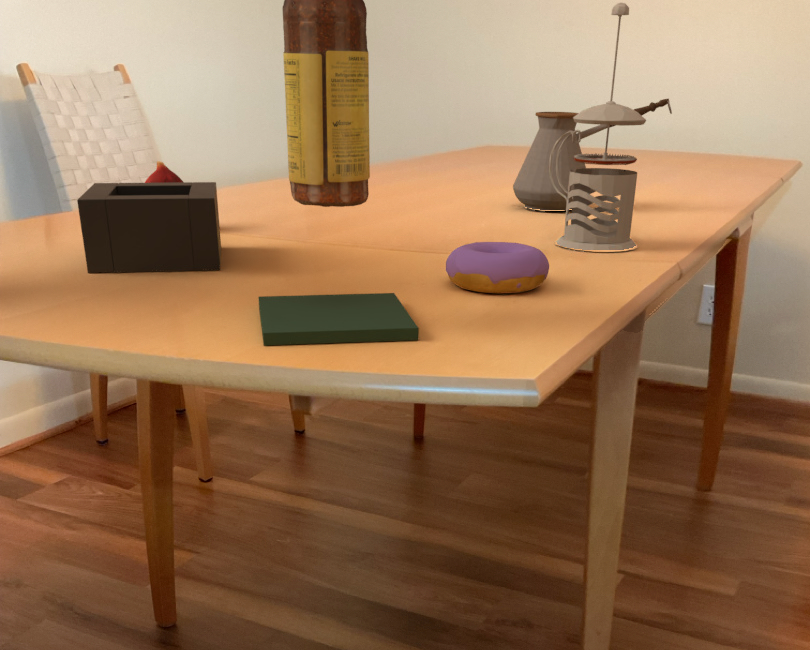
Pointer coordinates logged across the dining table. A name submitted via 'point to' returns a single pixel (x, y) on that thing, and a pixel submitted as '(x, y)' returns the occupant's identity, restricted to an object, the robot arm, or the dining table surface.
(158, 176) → the onion
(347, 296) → the mat
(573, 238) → the french press
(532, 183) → the coffee pot
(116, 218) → the black open-top box
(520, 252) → the donut
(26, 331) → the dining table surface
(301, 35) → the sauce bottle
